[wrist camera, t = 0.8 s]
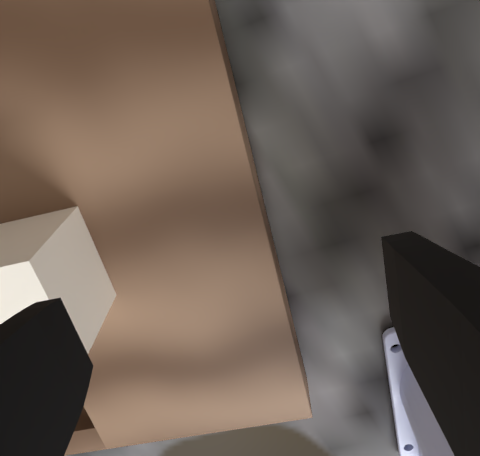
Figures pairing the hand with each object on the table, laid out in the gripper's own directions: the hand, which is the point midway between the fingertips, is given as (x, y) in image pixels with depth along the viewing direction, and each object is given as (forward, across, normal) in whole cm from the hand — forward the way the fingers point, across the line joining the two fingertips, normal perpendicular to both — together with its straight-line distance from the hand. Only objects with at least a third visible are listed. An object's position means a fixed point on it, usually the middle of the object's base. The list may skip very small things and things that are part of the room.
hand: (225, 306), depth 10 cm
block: (+7, +8, +1) cm, 10 cm away
